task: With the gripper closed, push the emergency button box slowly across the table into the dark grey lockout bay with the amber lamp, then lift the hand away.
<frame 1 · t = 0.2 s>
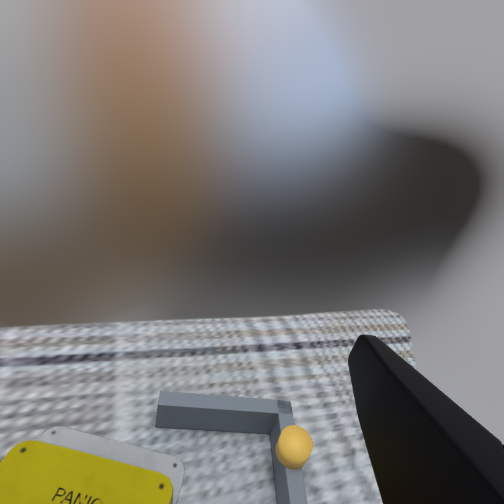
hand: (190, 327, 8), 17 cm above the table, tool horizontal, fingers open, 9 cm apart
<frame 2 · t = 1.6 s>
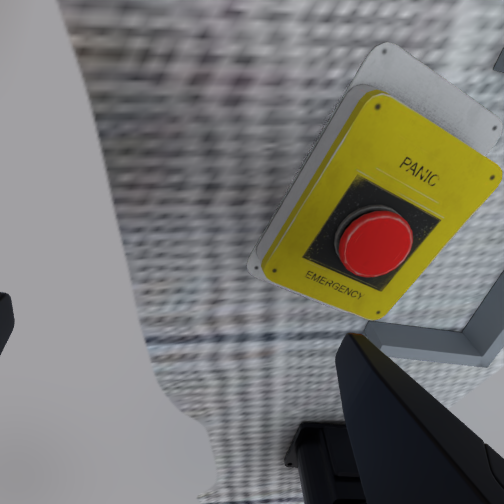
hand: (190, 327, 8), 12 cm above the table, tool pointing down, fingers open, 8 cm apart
lockout bay: (474, 228, 22), on the table
emergency button: (359, 200, 21), on the table
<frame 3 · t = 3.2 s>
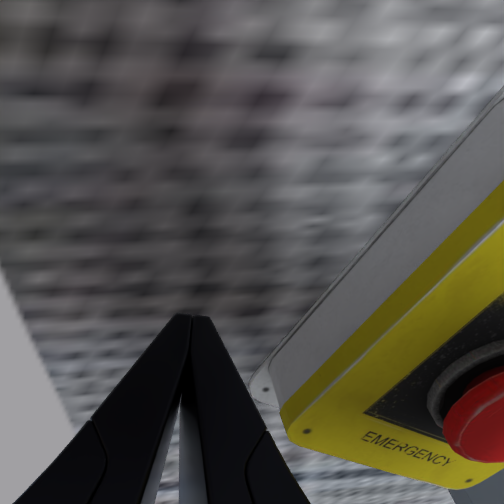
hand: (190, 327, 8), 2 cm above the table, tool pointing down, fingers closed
emergency button: (453, 289, 12), on the table
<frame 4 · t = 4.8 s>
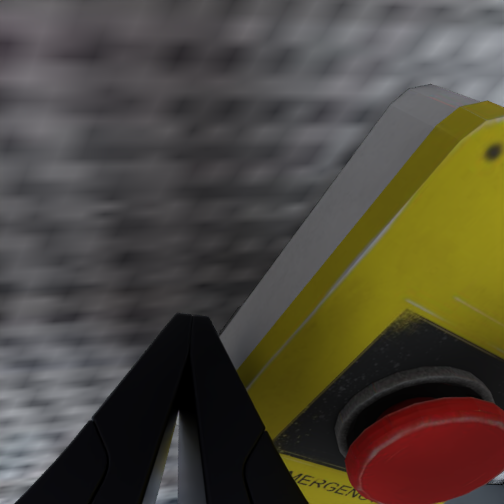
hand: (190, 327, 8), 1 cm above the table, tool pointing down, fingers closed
emergency button: (384, 307, 11), on the table
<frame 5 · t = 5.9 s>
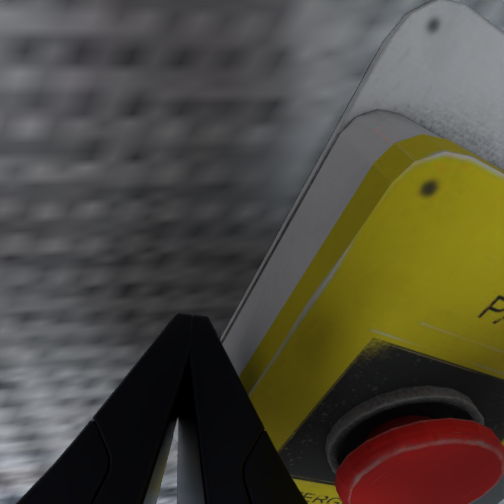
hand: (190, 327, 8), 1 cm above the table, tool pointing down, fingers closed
lockout bay: (423, 333, 11), on the table
emergency button: (374, 318, 11), on the table, touching gripper
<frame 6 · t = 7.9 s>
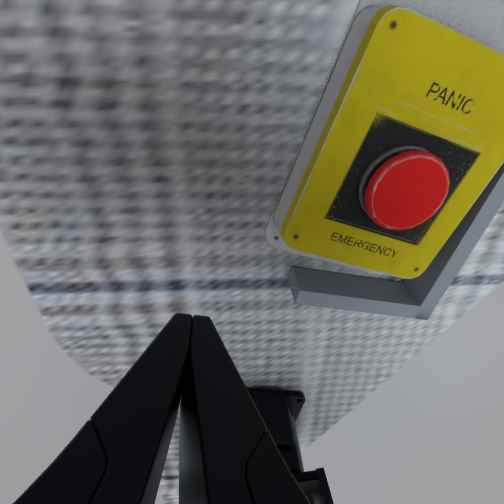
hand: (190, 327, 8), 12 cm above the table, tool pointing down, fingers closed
lockout bay: (405, 148, 18), on the table
emergency button: (381, 147, 19), on the table
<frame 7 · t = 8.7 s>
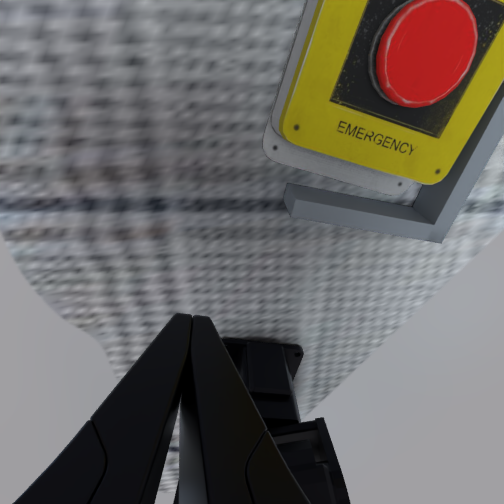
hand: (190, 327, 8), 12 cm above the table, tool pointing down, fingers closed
lockout bay: (417, 27, 16), on the table
emergency button: (391, 30, 16), on the table
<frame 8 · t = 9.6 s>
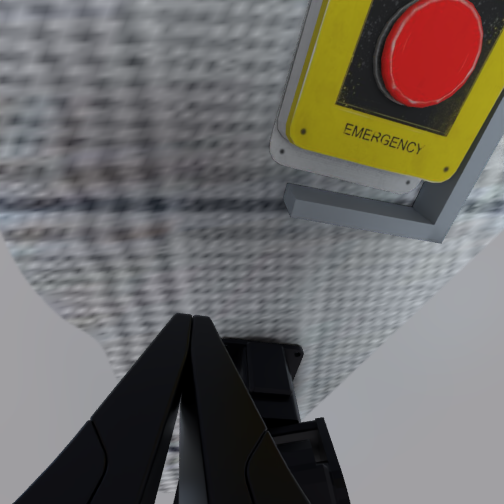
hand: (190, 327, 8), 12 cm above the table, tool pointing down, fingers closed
lockout bay: (417, 27, 16), on the table
emergency button: (395, 30, 17), on the table
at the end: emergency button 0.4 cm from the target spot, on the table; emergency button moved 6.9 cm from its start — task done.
